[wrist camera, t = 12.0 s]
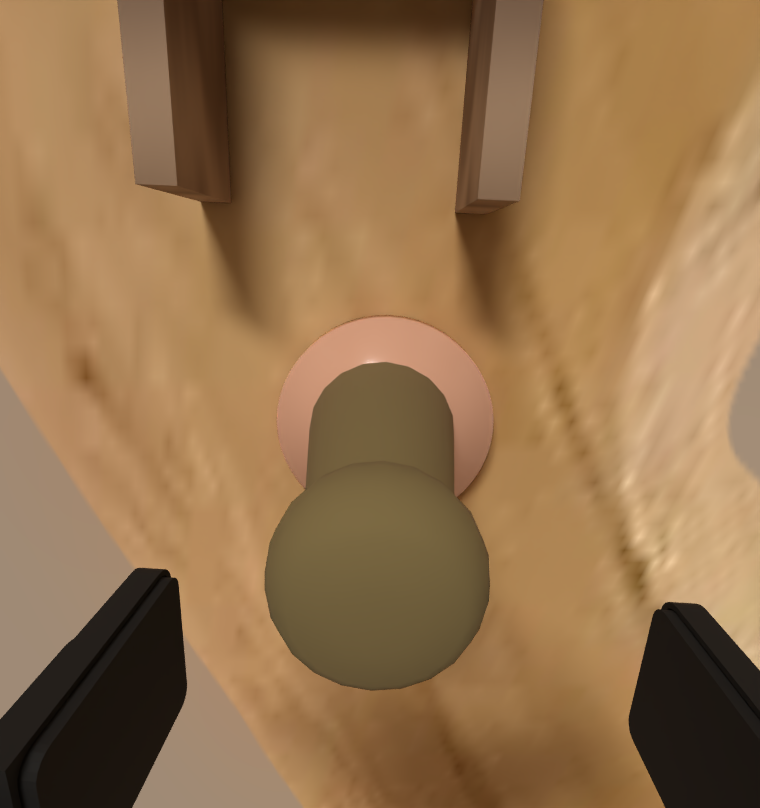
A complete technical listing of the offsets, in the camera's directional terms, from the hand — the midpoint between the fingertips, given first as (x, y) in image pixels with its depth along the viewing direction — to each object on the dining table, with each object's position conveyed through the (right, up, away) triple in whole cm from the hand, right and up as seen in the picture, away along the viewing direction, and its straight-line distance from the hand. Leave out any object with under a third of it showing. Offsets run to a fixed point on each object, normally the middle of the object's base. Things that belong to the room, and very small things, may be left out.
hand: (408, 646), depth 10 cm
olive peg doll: (0, +4, +11) cm, 12 cm away
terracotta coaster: (0, +4, +12) cm, 12 cm away
